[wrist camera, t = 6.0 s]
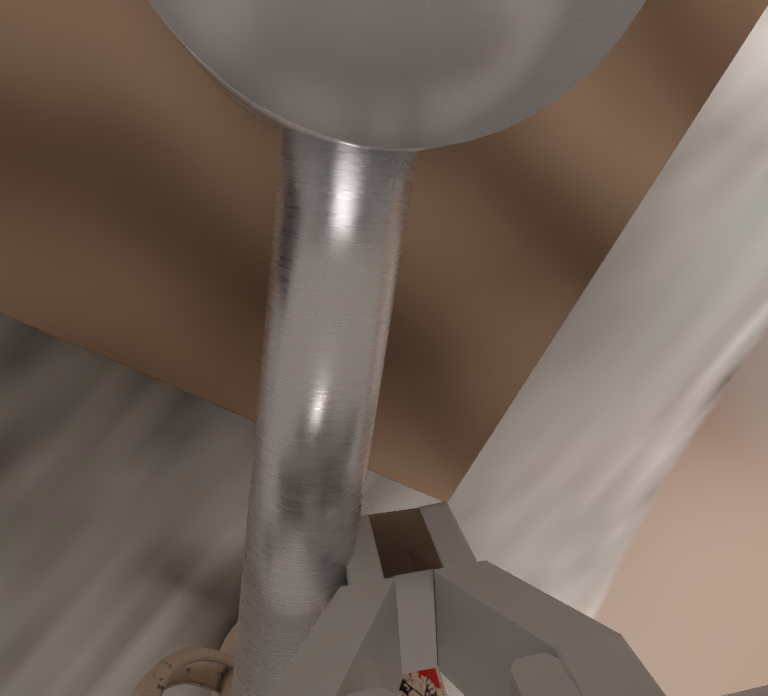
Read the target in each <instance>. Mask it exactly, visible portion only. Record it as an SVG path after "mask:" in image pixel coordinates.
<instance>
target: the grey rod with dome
mask: <svg viewBox="0 0 768 696" xmlns="http://www.w3.org/2000/svg"><path fill="white" fill-rule="evenodd" d="M645 1H646V0H148V2H149V3H150V5H151V6H152V7H153V9H154V10H155V11H156V12H157V14H158V15H159V16H160V18H161V19H162V20H163V21H164V23H165V24H166V25H167V26H168V28H169V29H170V30H171V31H172V33H173V34H174V35H175V37H176V38H177V39H178V40H179V42H180V43H181V44H182V45H183V47H184V48H185V49H186V50H187V52H188V53H189V54H190V56H191V57H192V58H193V59H194V61H195V62H196V63H197V64H198V65H199V67H200V68H201V69H202V70H203V71H204V72H205V73H206V75H207V76H208V77H209V78H210V79H211V80H212V82H213V83H214V84H215V85H216V86H217V87H218V88H219V89H220V90H221V91H222V92H223V93H224V94H225V95H227V96H228V97H229V98H230V99H231V100H232V101H233V102H234V103H235V104H236V105H237V106H238V107H240V108H241V109H242V110H244V111H245V112H247V113H248V114H249V115H251V116H252V117H254V118H255V119H256V120H258V121H259V122H260V123H262V124H263V125H265V126H267V127H269V128H271V129H272V130H274V131H276V132H278V133H280V134H282V142H281V153H280V164H279V175H278V186H277V197H276V208H275V219H274V230H273V241H272V252H271V263H270V274H269V285H268V296H267V307H266V318H265V329H264V340H263V351H262V362H261V373H260V384H259V395H258V406H257V417H256V428H255V438H254V449H253V460H252V471H251V482H250V493H249V504H248V515H247V526H246V537H245V548H244V559H243V570H242V581H241V592H240V603H239V614H238V625H237V636H236V647H235V658H234V669H233V680H232V691H231V696H268V695H269V694H270V692H271V691H272V689H273V688H274V686H275V685H276V683H277V682H278V680H279V679H280V677H281V676H282V674H283V673H284V671H285V669H286V668H287V666H288V665H289V663H290V662H291V660H292V659H293V657H294V656H295V654H296V653H297V651H298V650H299V648H300V647H301V645H302V643H303V642H304V640H305V639H306V637H307V636H308V634H309V633H310V631H311V630H312V628H313V627H314V625H315V624H316V622H317V621H318V619H319V617H320V616H321V614H322V613H323V611H324V610H325V608H326V607H327V605H328V604H329V602H330V601H331V599H332V598H333V596H334V595H335V593H336V592H337V590H338V588H339V587H342V586H347V578H346V566H347V564H348V563H349V562H350V560H351V558H352V556H353V554H354V551H355V544H356V538H357V532H358V525H359V519H360V513H361V506H362V500H363V494H364V487H365V481H366V475H367V468H368V462H369V456H370V449H371V443H372V436H373V430H374V424H375V417H376V411H377V405H378V398H379V392H380V386H381V379H382V373H383V367H384V360H385V354H386V348H387V341H388V335H389V329H390V322H391V316H392V310H393V303H394V297H395V291H396V284H397V278H398V271H399V265H400V259H401V252H402V246H403V240H404V233H405V227H406V221H407V214H408V208H409V202H410V195H411V189H412V183H413V176H414V170H415V164H416V157H417V151H420V150H426V149H431V148H436V147H441V146H447V145H452V144H457V143H463V142H468V141H472V140H475V139H478V138H481V137H484V136H486V135H489V134H492V133H495V132H498V131H501V130H504V129H506V128H508V127H510V126H512V125H514V124H516V123H518V122H520V121H522V120H524V119H526V118H528V117H530V116H532V115H534V114H536V113H537V112H539V111H540V110H542V109H543V108H545V107H546V106H548V105H549V104H551V103H552V102H553V101H555V100H556V99H558V98H559V97H561V96H562V95H564V94H565V93H566V92H568V91H569V90H570V89H571V88H572V87H573V86H574V85H575V84H577V83H578V82H579V81H580V80H581V79H582V78H583V77H585V76H586V75H587V74H588V73H589V72H590V71H591V70H592V69H594V67H595V66H596V65H597V64H598V63H599V62H600V61H601V60H602V58H603V57H604V56H605V55H606V54H607V53H608V52H609V51H610V49H611V48H612V47H613V46H614V45H615V44H616V43H617V42H618V40H619V39H620V38H621V36H622V35H623V33H624V32H625V31H626V29H627V28H628V26H629V25H630V23H631V22H632V21H633V19H634V18H635V16H636V15H637V14H638V12H639V11H640V9H641V8H642V6H643V5H644V3H645Z"/></svg>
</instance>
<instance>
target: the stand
mask: <svg viewBox="0 0 768 696" xmlns="http://www.w3.org/2000/svg"><path fill="white" fill-rule="evenodd" d="M767 6H768V0H646V1H645V3H644V5H643V6H642V8H641V9H640V11H639V12H638V14H637V15H636V16H635V18H634V19H633V21H632V22H631V23H630V25H629V26H628V28H627V29H626V31H625V32H624V33H623V35H622V36H621V38H620V39H619V40H618V42H617V43H616V44H615V45H614V46H613V47H612V48H611V49H610V51H609V52H608V53H607V54H606V55H605V56H604V57H603V58H602V60H601V61H600V62H599V63H598V64H597V65H596V66H595V67H594V69H592V70H591V71H590V72H589V73H588V74H587V75H586V76H585V77H583V78H582V79H581V80H580V81H579V82H578V83H577V84H575V85H574V86H573V87H572V88H571V89H570V90H569V91H568V92H566V93H565V94H564V95H562V96H561V97H559V98H558V99H556V100H555V101H553V102H552V103H551V104H549V105H548V106H546V107H545V108H543V109H542V110H540V111H539V112H537V113H536V114H534V115H532V116H530V117H528V118H526V119H524V120H522V121H520V122H518V123H516V124H514V125H512V126H510V127H508V128H506V129H504V130H501V131H498V132H495V133H492V134H489V135H486V136H484V137H481V138H478V139H475V140H472V141H468V142H463V143H457V144H452V145H447V146H441V147H436V148H431V149H426V150H420V151H417V157H416V164H415V170H414V176H413V183H412V189H411V195H410V202H409V208H408V214H407V221H406V227H405V233H404V240H403V246H402V252H401V259H400V265H399V271H398V278H397V284H396V291H395V297H394V303H393V310H392V316H391V322H390V329H389V335H388V341H387V348H386V354H385V360H384V367H383V373H382V379H381V386H380V392H379V398H378V405H377V411H376V417H375V424H374V430H373V436H372V443H371V449H370V456H369V462H368V468H367V469H368V470H371V471H373V472H375V473H378V474H380V475H382V476H385V477H387V478H389V479H392V480H394V481H397V482H399V483H401V484H404V485H406V486H408V487H411V488H413V489H415V490H418V491H420V492H422V493H425V494H427V495H429V496H432V497H434V498H436V499H439V500H441V501H444V502H446V503H447V502H448V501H449V499H450V498H451V496H452V494H453V493H454V491H455V490H456V488H457V487H458V485H459V484H460V482H461V480H462V479H463V477H464V476H465V474H466V473H467V471H468V470H469V468H470V466H471V465H472V463H473V462H474V460H475V459H476V457H477V456H478V454H479V453H480V451H481V449H482V448H483V446H484V445H485V443H486V442H487V440H488V439H489V437H490V435H491V434H492V432H493V431H494V429H495V428H496V426H497V425H498V423H499V421H500V420H501V418H502V417H503V415H504V414H505V412H506V411H507V409H508V408H509V406H510V404H511V403H512V401H513V400H514V398H515V397H516V395H517V394H518V392H519V390H520V389H521V387H522V386H523V384H524V383H525V381H526V380H527V378H528V376H529V375H530V373H531V372H532V370H533V369H534V367H535V366H536V364H537V363H538V361H539V359H540V358H541V356H542V355H543V353H544V352H545V350H546V349H547V347H548V345H549V344H550V342H551V341H552V339H553V338H554V336H555V335H556V333H557V331H558V330H559V328H560V327H561V325H562V324H563V322H564V321H565V319H566V317H567V316H568V314H569V313H570V311H571V310H572V308H573V307H574V305H575V304H576V302H577V300H578V299H579V297H580V296H581V294H582V293H583V291H584V290H585V288H586V286H587V285H588V283H589V282H590V280H591V279H592V277H593V276H594V274H595V272H596V271H597V269H598V268H599V266H600V265H601V263H602V262H603V260H604V259H605V257H606V255H607V254H608V252H609V251H610V249H611V248H612V246H613V245H614V243H615V241H616V240H617V238H618V237H619V235H620V234H621V232H622V231H623V229H624V227H625V226H626V224H627V223H628V221H629V220H630V218H631V217H632V215H633V214H634V212H635V210H636V209H637V207H638V206H639V204H640V203H641V201H642V200H643V198H644V196H645V195H646V193H647V192H648V190H649V189H650V187H651V186H652V184H653V182H654V181H655V179H656V178H657V176H658V175H659V173H660V172H661V170H662V169H663V167H664V165H665V164H666V162H667V161H668V159H669V158H670V156H671V155H672V153H673V151H674V150H675V148H676V147H677V145H678V144H679V142H680V141H681V139H682V137H683V136H684V134H685V133H686V131H687V130H688V128H689V127H690V125H691V123H692V122H693V120H694V119H695V117H696V116H697V114H698V113H699V111H700V110H701V108H702V106H703V105H704V103H705V102H706V100H707V99H708V97H709V96H710V94H711V92H712V91H713V89H714V88H715V86H716V85H717V83H718V82H719V80H720V78H721V77H722V75H723V74H724V72H725V71H726V69H727V68H728V66H729V65H730V63H731V61H732V60H733V58H734V57H735V55H736V54H737V52H738V51H739V49H740V47H741V46H742V44H743V43H744V41H745V40H746V38H747V37H748V35H749V33H750V32H751V30H752V29H753V27H754V26H755V24H756V23H757V21H758V20H759V18H760V16H761V15H762V13H763V12H764V10H765V9H766V7H767ZM281 142H282V134H280V133H278V132H276V131H274V130H272V129H271V128H269V127H267V126H265V125H263V124H262V123H260V122H259V121H258V120H256V119H255V118H254V117H252V116H251V115H249V114H248V113H247V112H245V111H244V110H242V109H241V108H240V107H238V106H237V105H236V104H235V103H234V102H233V101H232V100H231V99H230V98H229V97H228V96H227V95H225V94H224V93H223V92H222V91H221V90H220V89H219V88H218V87H217V86H216V85H215V84H214V83H213V82H212V80H211V79H210V78H209V77H208V76H207V75H206V73H205V72H204V71H203V70H202V69H201V68H200V67H199V65H198V64H197V63H196V62H195V61H194V59H193V58H192V57H191V56H190V54H189V53H188V52H187V50H186V49H185V48H184V47H183V45H182V44H181V43H180V42H179V40H178V39H177V38H176V37H175V35H174V34H173V33H172V31H171V30H170V29H169V28H168V26H167V25H166V24H165V23H164V21H163V20H162V19H161V18H160V16H159V15H158V14H157V12H156V11H155V10H154V9H153V7H152V6H151V5H150V3H149V2H148V0H0V313H2V314H4V315H7V316H9V317H11V318H14V319H16V320H18V321H21V322H23V323H25V324H28V325H30V326H32V327H35V328H37V329H39V330H42V331H44V332H46V333H49V334H51V335H54V336H56V337H58V338H61V339H63V340H65V341H68V342H70V343H72V344H75V345H77V346H79V347H82V348H84V349H86V350H89V351H91V352H93V353H96V354H98V355H101V356H103V357H105V358H108V359H110V360H112V361H115V362H117V363H119V364H122V365H124V366H126V367H129V368H131V369H133V370H136V371H138V372H140V373H143V374H145V375H148V376H150V377H152V378H155V379H157V380H159V381H162V382H164V383H166V384H169V385H171V386H173V387H176V388H178V389H180V390H183V391H185V392H187V393H190V394H192V395H194V396H197V397H199V398H202V399H204V400H206V401H209V402H211V403H213V404H216V405H218V406H220V407H223V408H225V409H227V410H230V411H232V412H234V413H237V414H239V415H241V416H244V417H246V418H249V419H251V420H253V421H256V417H257V406H258V395H259V384H260V373H261V362H262V351H263V340H264V329H265V318H266V307H267V296H268V285H269V274H270V263H271V252H272V241H273V230H274V219H275V208H276V197H277V186H278V175H279V164H280V153H281Z"/></svg>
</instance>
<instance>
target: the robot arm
mask: <svg viewBox="0 0 768 696" xmlns="http://www.w3.org/2000/svg"><path fill="white" fill-rule="evenodd" d="M346 578H347V586H342V587H339V588H338V590H337V592H336V593H335V595H334V596H333V598H332V599H331V601H330V602H329V604H328V605H327V607H326V608H325V610H324V611H323V613H322V614H321V616H320V617H319V619H318V621H317V622H316V624H315V625H314V627H313V628H312V630H311V631H310V633H309V634H308V636H307V637H306V639H305V640H304V642H303V643H302V645H301V647H300V648H299V650H298V651H297V653H296V654H295V656H294V657H293V659H292V660H291V662H290V663H289V665H288V666H287V668H286V669H285V671H284V673H283V674H282V676H281V677H280V679H279V680H278V682H277V683H276V685H275V686H274V688H273V689H272V691H271V692H270V694H269V695H268V696H397V694H398V691H399V688H400V685H401V682H402V679H403V676H402V675H403V674H407V673H411V672H416V671H420V670H426V669H431V668H437V667H439V671H440V672H441V673H442V674H443V675H444V676H445V677H446V678H448V679H449V680H450V681H451V682H452V683H453V684H454V685H455V686H456V687H457V688H458V689H459V690H460V691H461V692H462V693H463V694H464V695H465V696H666V695H665V694H664V692H663V691H662V690H661V688H660V687H659V686H658V684H657V683H656V682H655V680H654V679H653V677H652V676H651V675H650V673H649V672H648V671H647V670H646V668H645V667H644V665H643V664H642V663H641V661H640V660H639V658H638V657H637V656H636V654H635V653H634V652H633V650H632V649H631V648H630V646H629V645H628V644H627V642H626V641H625V639H624V638H623V637H622V636H621V634H619V633H617V632H615V631H613V630H612V629H610V628H608V627H606V626H605V625H603V624H601V623H599V622H597V621H595V620H594V619H592V618H590V617H588V616H586V615H584V614H583V613H581V612H579V611H577V610H575V609H574V608H572V607H570V606H568V605H566V604H564V603H563V602H561V601H559V600H557V599H555V598H553V597H552V596H550V595H548V594H546V593H544V592H543V591H541V590H539V589H537V588H535V587H533V586H532V585H530V584H528V583H526V582H524V581H522V580H521V579H519V578H517V577H515V576H513V575H512V574H510V573H508V572H506V571H504V570H502V569H501V568H499V567H497V566H495V565H493V564H492V563H490V562H488V561H480V562H477V560H476V558H475V556H474V554H473V552H472V550H471V548H470V546H469V544H468V542H467V540H466V538H465V536H464V534H463V532H462V530H461V528H460V526H459V524H458V522H457V520H456V518H455V516H454V515H453V513H452V511H451V509H450V507H449V505H448V504H447V503H445V502H442V503H437V504H432V505H427V506H422V507H417V508H414V509H407V510H400V511H393V512H386V513H379V514H372V515H368V516H367V515H364V516H360V519H359V525H358V532H357V538H356V544H355V551H354V554H353V556H352V558H351V560H350V562H349V563H348V564H347V566H346ZM724 696H768V685H766V686H762V687H757V688H753V689H749V690H745V691H741V692H736V693H732V694H728V695H724Z"/></svg>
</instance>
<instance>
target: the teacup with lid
mask: <svg viewBox="0 0 768 696" xmlns="http://www.w3.org/2000/svg"><path fill="white" fill-rule="evenodd" d="M237 625H238V621H237V623H236V624H235V625H234V626H233V628H232V629H231V630H230V632H229V633H228V635H227V637H226V638H225V640H224V642H223V644H222V646H221V648H220V651H218V650H215V649H210V648H204V647H191V648H186V649H182V650H179V651H177V652H174V653H172V654H171V655H169V656H167V657H165V658H164V659H163V660H161V661H160V662H159V663H158V664H156V665H155V666H154V667H153V668H152V669H151V670H150V671H149V672H148V674H147V675H146V676H145V677H144V678H143V679H142V680H141V682H140V683H139V684H138V685H137V687H136V688H135V690H134V691H133V692H132V694H131V696H162V693H163V691H164V690H166V689H168V688H170V687H172V686H175V685H179V684H191V685H196V686H200V687H204V688H207V689H210V690H212V691H211V696H231V691H232V680H233V669H234V658H235V647H236V636H237ZM402 676H403V679H402V682H401V685H400V688H399V691H398V694H397V696H447V695H446V692H445V688H444V685H443V682H442V679H441V676H440V672H439V669H438V667H437V668H431V669H426V670H420V671H416V672H411V673H407V674H403V675H402Z"/></svg>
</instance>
